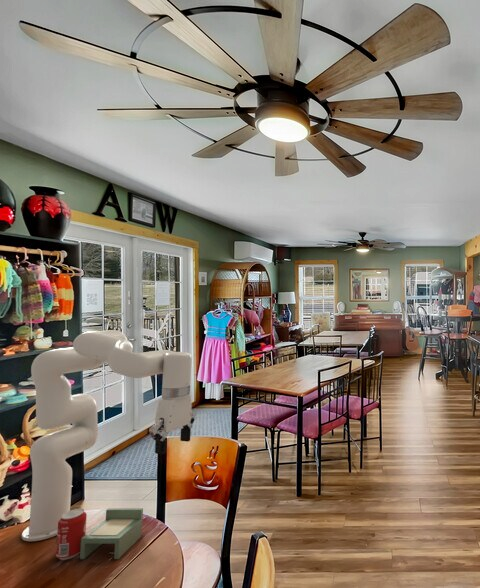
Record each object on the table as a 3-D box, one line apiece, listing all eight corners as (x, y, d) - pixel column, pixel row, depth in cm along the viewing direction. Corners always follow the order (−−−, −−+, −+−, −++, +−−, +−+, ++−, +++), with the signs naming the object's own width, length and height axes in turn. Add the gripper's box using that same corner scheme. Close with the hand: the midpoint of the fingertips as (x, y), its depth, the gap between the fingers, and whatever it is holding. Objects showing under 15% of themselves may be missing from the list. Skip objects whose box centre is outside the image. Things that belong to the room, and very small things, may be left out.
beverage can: (90, 547, 105) (92, 508, 105) (68, 563, 99) (71, 520, 99) (71, 545, 106) (74, 506, 106) (49, 560, 99) (52, 518, 100)
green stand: (79, 559, 100) (81, 528, 101) (106, 536, 110) (108, 508, 111) (118, 559, 101) (120, 528, 101) (141, 536, 111) (143, 508, 111)
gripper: (186, 385, 116) (183, 435, 116) (141, 398, 99) (138, 457, 99) (206, 386, 115) (203, 437, 115) (163, 399, 98) (160, 460, 98)
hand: (173, 446), depth 107 cm, fingers open, 9 cm apart
